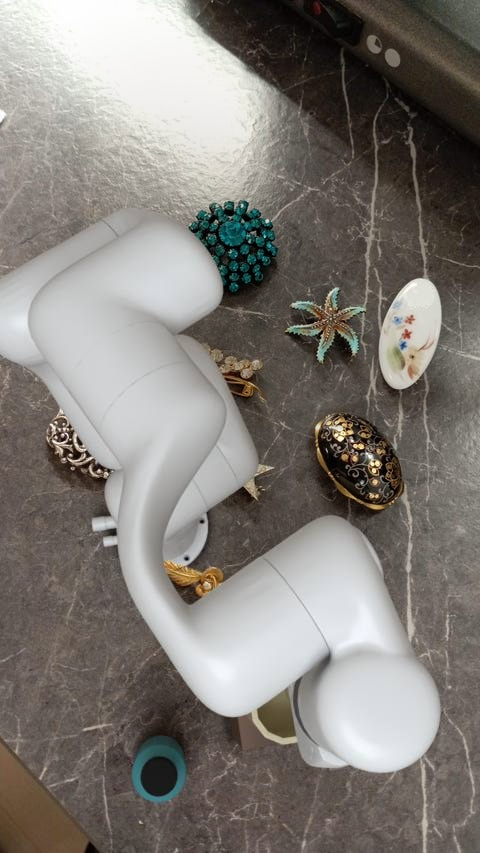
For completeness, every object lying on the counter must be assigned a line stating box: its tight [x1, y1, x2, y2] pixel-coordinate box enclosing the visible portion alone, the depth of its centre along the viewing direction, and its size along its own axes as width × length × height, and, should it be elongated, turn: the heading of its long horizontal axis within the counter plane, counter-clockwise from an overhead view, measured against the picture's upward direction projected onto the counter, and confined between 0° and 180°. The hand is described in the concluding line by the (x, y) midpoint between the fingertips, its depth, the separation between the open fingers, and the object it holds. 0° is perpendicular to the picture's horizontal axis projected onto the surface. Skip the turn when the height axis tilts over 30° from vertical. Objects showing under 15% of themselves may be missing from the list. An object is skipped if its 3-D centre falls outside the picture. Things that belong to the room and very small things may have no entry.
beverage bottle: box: [131, 734, 188, 803], centre depth 108 cm, size 6×7×20 cm
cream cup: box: [246, 689, 298, 745], centre depth 95 cm, size 7×7×10 cm
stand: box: [228, 715, 281, 751], centre depth 110 cm, size 9×9×21 cm
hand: (310, 692), depth 82 cm, fingers closed
